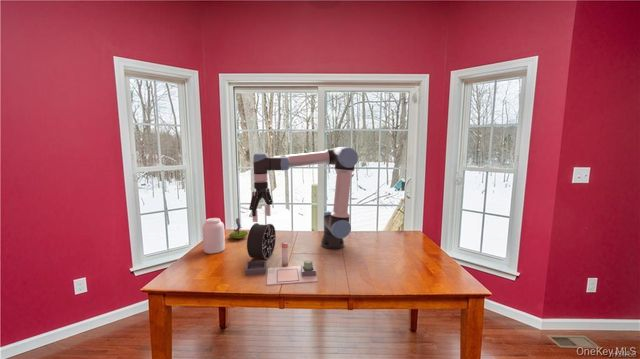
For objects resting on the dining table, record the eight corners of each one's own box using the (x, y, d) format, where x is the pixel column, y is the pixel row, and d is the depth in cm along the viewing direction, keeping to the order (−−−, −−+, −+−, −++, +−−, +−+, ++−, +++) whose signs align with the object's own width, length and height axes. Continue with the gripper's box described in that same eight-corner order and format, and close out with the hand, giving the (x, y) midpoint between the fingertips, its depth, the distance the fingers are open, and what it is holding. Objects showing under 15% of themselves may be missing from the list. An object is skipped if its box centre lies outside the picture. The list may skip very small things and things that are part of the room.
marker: (287, 262, 150) (287, 242, 148) (288, 265, 146) (287, 244, 145) (281, 263, 149) (281, 242, 148) (281, 265, 146) (281, 244, 144)
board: (312, 266, 146) (312, 264, 146) (317, 281, 129) (317, 280, 129) (268, 269, 142) (268, 267, 142) (266, 285, 125) (266, 284, 125)
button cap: (311, 267, 139) (311, 260, 139) (313, 271, 135) (313, 263, 134) (303, 268, 138) (303, 260, 138) (304, 272, 134) (304, 264, 134)
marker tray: (266, 265, 146) (266, 260, 146) (265, 274, 136) (265, 268, 136) (247, 266, 145) (247, 261, 144) (245, 275, 135) (245, 269, 135)
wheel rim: (262, 265, 147) (262, 229, 144) (247, 263, 148) (246, 228, 146) (275, 251, 166) (275, 219, 164) (262, 250, 168) (261, 219, 165)
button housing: (314, 269, 141) (314, 264, 140) (315, 275, 134) (315, 270, 134) (300, 270, 140) (300, 265, 139) (302, 276, 133) (302, 271, 132)
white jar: (207, 255, 159) (206, 223, 156) (200, 249, 168) (199, 218, 165) (228, 250, 167) (227, 219, 164) (220, 245, 176) (219, 215, 174)
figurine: (231, 235, 196) (230, 215, 194) (249, 234, 197) (248, 214, 195) (226, 241, 182) (226, 220, 180) (246, 241, 183) (245, 219, 181)
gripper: (266, 178, 161) (267, 212, 164) (241, 184, 138) (242, 223, 141) (277, 179, 159) (278, 213, 162) (254, 184, 136) (255, 225, 138)
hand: (261, 218), depth 151 cm, fingers open, 13 cm apart
